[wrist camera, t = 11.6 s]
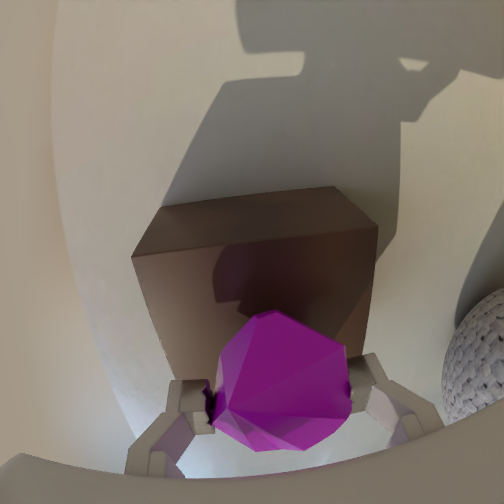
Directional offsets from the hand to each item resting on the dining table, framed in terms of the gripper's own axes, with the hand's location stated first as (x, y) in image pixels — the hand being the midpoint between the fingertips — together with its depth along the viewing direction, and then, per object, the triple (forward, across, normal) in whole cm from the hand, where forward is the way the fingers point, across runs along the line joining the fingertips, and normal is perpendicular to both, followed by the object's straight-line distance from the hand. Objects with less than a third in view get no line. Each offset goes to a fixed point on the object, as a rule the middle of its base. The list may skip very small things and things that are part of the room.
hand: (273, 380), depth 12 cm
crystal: (+2, 0, 0) cm, 2 cm away
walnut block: (+9, 0, 0) cm, 9 cm away
